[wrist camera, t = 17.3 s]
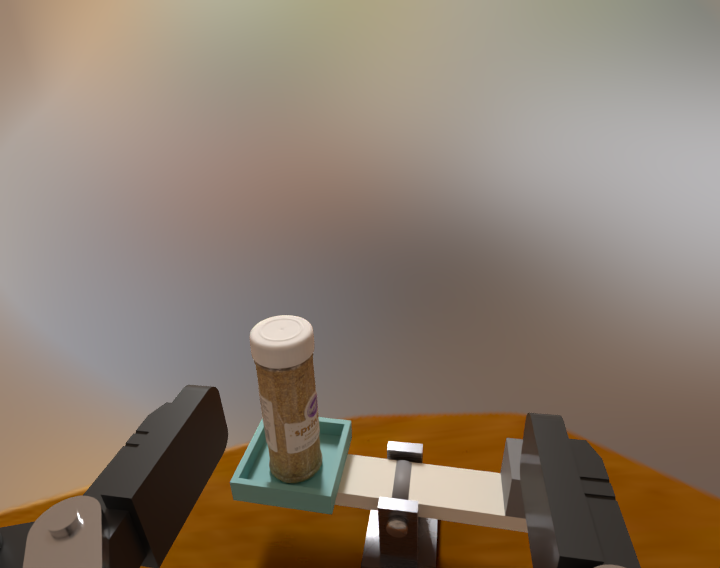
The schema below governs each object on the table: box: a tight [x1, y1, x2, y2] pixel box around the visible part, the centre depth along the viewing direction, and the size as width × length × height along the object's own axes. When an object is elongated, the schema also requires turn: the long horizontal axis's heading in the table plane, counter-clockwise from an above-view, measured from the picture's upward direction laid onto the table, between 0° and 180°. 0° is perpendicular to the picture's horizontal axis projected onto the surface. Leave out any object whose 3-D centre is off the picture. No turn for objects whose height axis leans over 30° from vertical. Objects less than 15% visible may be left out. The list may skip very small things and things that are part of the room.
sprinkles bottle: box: [250, 315, 322, 483], centre depth 37 cm, size 5×5×13 cm
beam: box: [230, 417, 528, 532], centre depth 38 cm, size 26×8×6 cm, turn 80°
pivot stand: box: [361, 441, 438, 568], centre depth 40 cm, size 6×8×8 cm
